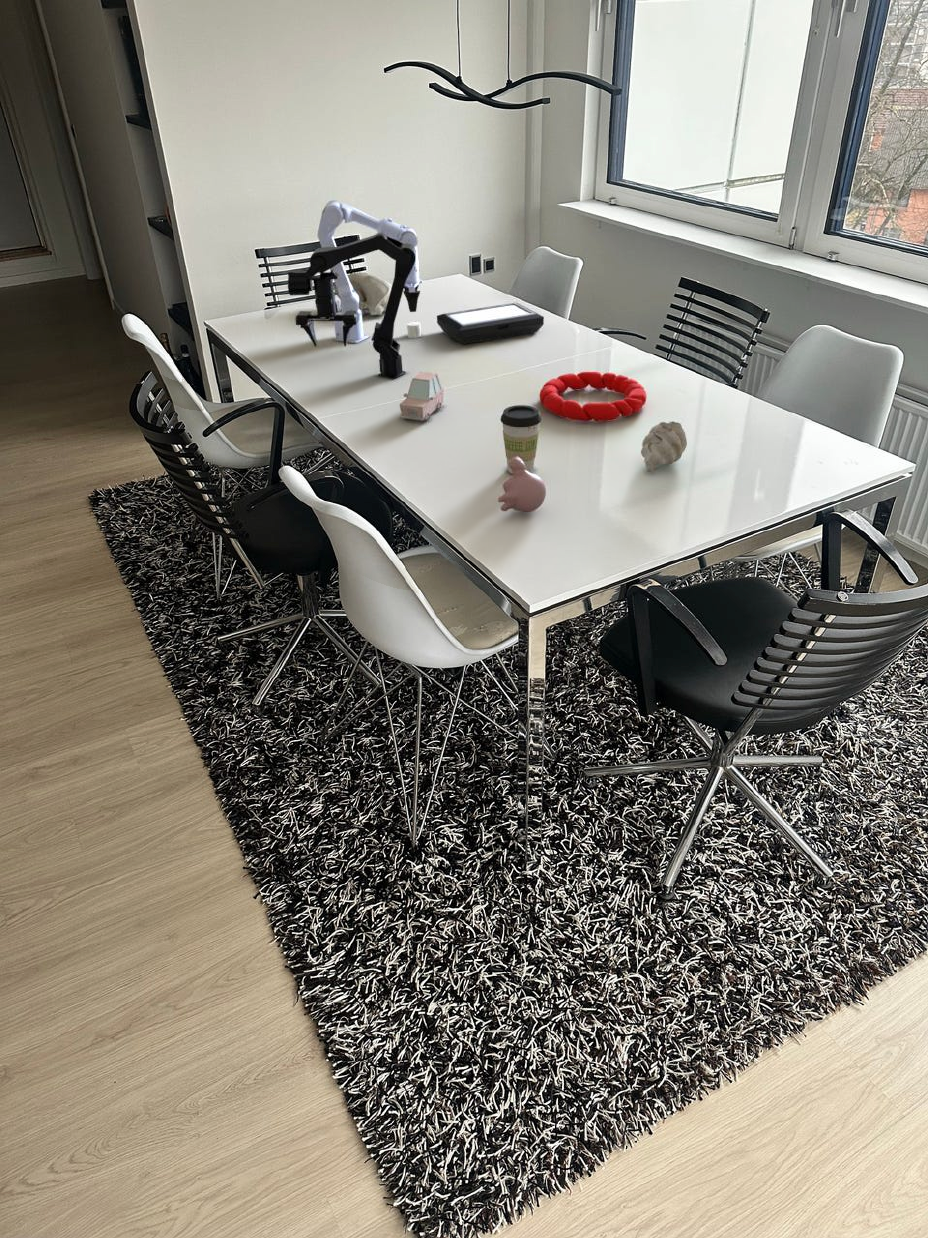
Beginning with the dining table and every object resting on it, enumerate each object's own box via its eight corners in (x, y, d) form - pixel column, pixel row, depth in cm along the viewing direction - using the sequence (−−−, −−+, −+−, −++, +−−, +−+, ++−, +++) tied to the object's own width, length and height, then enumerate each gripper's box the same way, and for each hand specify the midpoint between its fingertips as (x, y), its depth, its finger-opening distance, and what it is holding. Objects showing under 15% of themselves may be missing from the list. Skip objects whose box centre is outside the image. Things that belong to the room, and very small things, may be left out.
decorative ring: (525, 401, 245) (634, 402, 234) (555, 365, 268) (655, 365, 258) (527, 426, 249) (634, 428, 238) (556, 389, 272) (655, 390, 261)
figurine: (490, 509, 203) (489, 460, 196) (532, 497, 207) (532, 449, 201) (510, 525, 197) (510, 475, 190) (552, 512, 201) (554, 463, 194)
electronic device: (459, 327, 297) (436, 313, 313) (460, 346, 301) (437, 331, 316) (543, 314, 308) (517, 300, 323) (543, 332, 311) (517, 318, 326)
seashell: (697, 464, 220) (702, 426, 214) (648, 478, 214) (652, 439, 208) (671, 449, 227) (675, 412, 222) (623, 462, 222) (626, 424, 216)
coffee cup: (511, 481, 215) (511, 422, 206) (494, 465, 222) (493, 408, 214) (547, 473, 218) (549, 414, 209) (529, 458, 225) (530, 401, 217)
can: (406, 337, 312) (405, 325, 309) (409, 333, 315) (408, 321, 313) (419, 338, 311) (418, 325, 308) (422, 333, 314) (421, 321, 312)
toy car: (396, 421, 248) (393, 386, 242) (418, 402, 260) (416, 368, 254) (427, 425, 245) (425, 390, 239) (448, 405, 257) (447, 371, 251)
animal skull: (363, 342, 338) (386, 304, 323) (318, 293, 338) (340, 252, 323) (389, 330, 349) (414, 293, 335) (347, 283, 350) (369, 244, 335)
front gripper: (360, 286, 272) (364, 338, 281) (300, 287, 274) (306, 338, 282) (353, 296, 263) (358, 349, 272) (291, 297, 265) (298, 349, 273)
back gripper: (423, 271, 294) (425, 313, 302) (420, 261, 306) (422, 302, 314) (401, 272, 294) (404, 314, 302) (400, 262, 306) (402, 303, 313)
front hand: (330, 346), depth 275 cm, fingers open, 9 cm apart
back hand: (412, 308), depth 308 cm, fingers open, 7 cm apart
